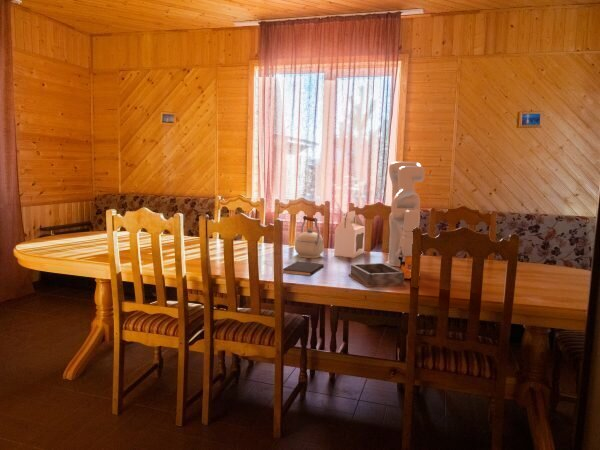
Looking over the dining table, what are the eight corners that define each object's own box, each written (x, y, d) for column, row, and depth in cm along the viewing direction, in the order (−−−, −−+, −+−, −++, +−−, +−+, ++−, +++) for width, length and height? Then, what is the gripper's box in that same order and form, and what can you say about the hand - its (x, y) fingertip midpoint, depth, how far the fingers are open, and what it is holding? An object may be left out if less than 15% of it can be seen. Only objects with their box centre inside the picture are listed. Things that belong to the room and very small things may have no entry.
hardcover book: (282, 273, 247) (282, 269, 246) (297, 265, 268) (297, 261, 268) (310, 276, 241) (310, 272, 241) (323, 267, 263) (323, 264, 262)
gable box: (345, 250, 317) (346, 209, 313) (364, 252, 311) (365, 210, 308) (333, 255, 297) (335, 212, 293) (353, 257, 291) (355, 213, 288)
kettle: (288, 253, 299) (289, 215, 296) (313, 252, 307) (314, 214, 304) (307, 261, 277) (308, 219, 274) (333, 259, 286) (334, 218, 282)
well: (383, 274, 249) (383, 262, 248) (405, 285, 226) (406, 273, 225) (348, 275, 243) (349, 264, 242) (368, 287, 220) (368, 274, 219)
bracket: (414, 280, 234) (416, 257, 232) (400, 279, 237) (401, 256, 235) (417, 275, 244) (418, 253, 242) (403, 274, 247) (404, 252, 245)
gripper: (421, 232, 243) (419, 266, 245) (391, 233, 238) (389, 267, 241) (429, 234, 236) (427, 269, 238) (398, 235, 231) (396, 271, 233)
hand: (408, 268), depth 239 cm, fingers closed on bracket, 6 cm apart
